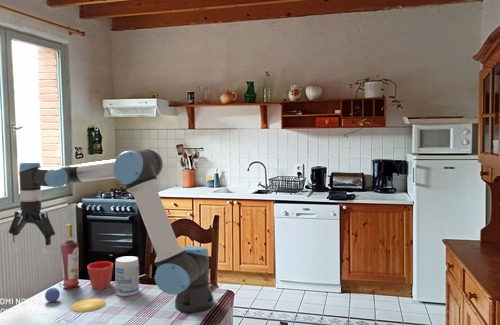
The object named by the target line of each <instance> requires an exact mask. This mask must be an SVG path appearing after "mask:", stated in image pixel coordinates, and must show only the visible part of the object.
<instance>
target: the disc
mask: <svg viewBox="0 0 500 325" xmlns="http://www.w3.org/2000/svg"><path fill="white" fill-rule="evenodd" d="M106 304H107V303H106V301H105V299H100V298H87V299H82V300H79V301H76V302H74V303H72V304H71V305H70V310H71V311H73V312H77V313H88V312H94V311H97V310H99V309H101V308H103V307H105V306H106Z"/></svg>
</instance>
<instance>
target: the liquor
mask: <svg viewBox="0 0 500 325" xmlns="http://www.w3.org/2000/svg"><path fill="white" fill-rule="evenodd" d="M65 231H66V235H65V236H66V237H65V242H63V243H62V244H61V245H60V251H61V252H60V253H61V262H62V263H61V264H62V265H61V266H62V276H63V283H62V286H63V287H64V288H65V289H69V290H70V289H75V288H77V287H78V286H79V285H80V282H79V248H80V247H79V243H78V242H76V241H74V238H73V223H67V224H65Z"/></svg>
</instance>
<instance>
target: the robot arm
mask: <svg viewBox="0 0 500 325" xmlns="http://www.w3.org/2000/svg"><path fill="white" fill-rule="evenodd" d="M163 166H164V163H163V159H162V157H161V155H160V154H159V153H158V152H157V151H155V150H152V149H130V150H127V151H123V152H121V153H119V154H118V155H117V156H116V158H115V159H108V160H101V161H93V162H87V163H80V164H73V165H64V166H53V167H43V166H42V167H41V163H40V162H38V161H22V162H20V163H19V167H18V168H19V169H18V170H19V171H18V175H19V199H20V202H19V203H20V210H16V211H14V216H13V220H12V222H11V224H10V227H9V230H8V234H11V235H12V237H13V238H12V240H13V243H14V252H19V251H22V234H21V231H22V230H23V229H24V227H25V226H26V225H27V224H34V225H35V226H37V228H38V230H40V233H41V234H42V235H43V237H42V248H43V249H42V250H43V251H42V253H43V255H45V254H48V253H50V245H51V243H52V241H51V240H52V238H51V237H52V236H55V235H56V232H55V230H54V228H53V226H52V223H51V221H50V218H49V214H48V212H47V211H45V212H41V209H42V200H41V199H42V194H41V190H42V188H41V187H47V188H48V187H51V188H61V187H64V185H70V184H77V183H83V182H84V183H85V182H93V181H100V180H101V181H102V180H109V179H115V180H116V181H117V182H120V183H121V184H122V185H124V187H125V189H126V192H128V193H130V194H132V195H133V198H134V200H135V204H136V206H137V208H138V211H139V213H140V216H141V218H142V220H143V224H144V226H145V229H146V231H147V234H148V236H149V239H150V241H151V244H152V246H153V249H154V251H155V252H154V253H155V254H156V257H155V260H154V264H155V267H156V271H155V274H154V281H155V282H154V283H155V285H156V286H157V287H158V288H159V290H160V291H162V292H163V293H165V294H167V295H171V296H173V295H175V298H174V307H175V309H176V310H177V311H180V312H185V313H199V312H200V313H201V312H204V311H207V310H209V309H211V308H212V307H214V305H215V303H214V296H213V293H212V290H211V286H210V270H209V268H210V267H209V264H210V263H209V262H210V256H209V255H210V254H209V249H208V248H206V247H204V246H198V245H197V246H196V245H195V246H194V245H193V246H191V245H189V246H188V245H186V246H180V245H179V242H178V240H177V237H176V234H175V232H174V230H173V227H172V224H171V222H170V219H169V216H168V213H167V211H166V209H165V206H164V204H163V202H162V199H161V196H160V194H159V191H158V188H157V186H156V185H157V183H158V178H157V177H158V176H159V175H160V174H161V172H162V171H163Z"/></svg>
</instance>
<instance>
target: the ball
mask: <svg viewBox="0 0 500 325" xmlns="http://www.w3.org/2000/svg"><path fill="white" fill-rule="evenodd" d="M60 296H61V293H60V290H59V289H58V288H56V287H50V288H49V289H47V290H46V291H45V294H44V298H45V300H46V301H48V302H49V303H55V302H56V301H57V300H59V298H60Z"/></svg>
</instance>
